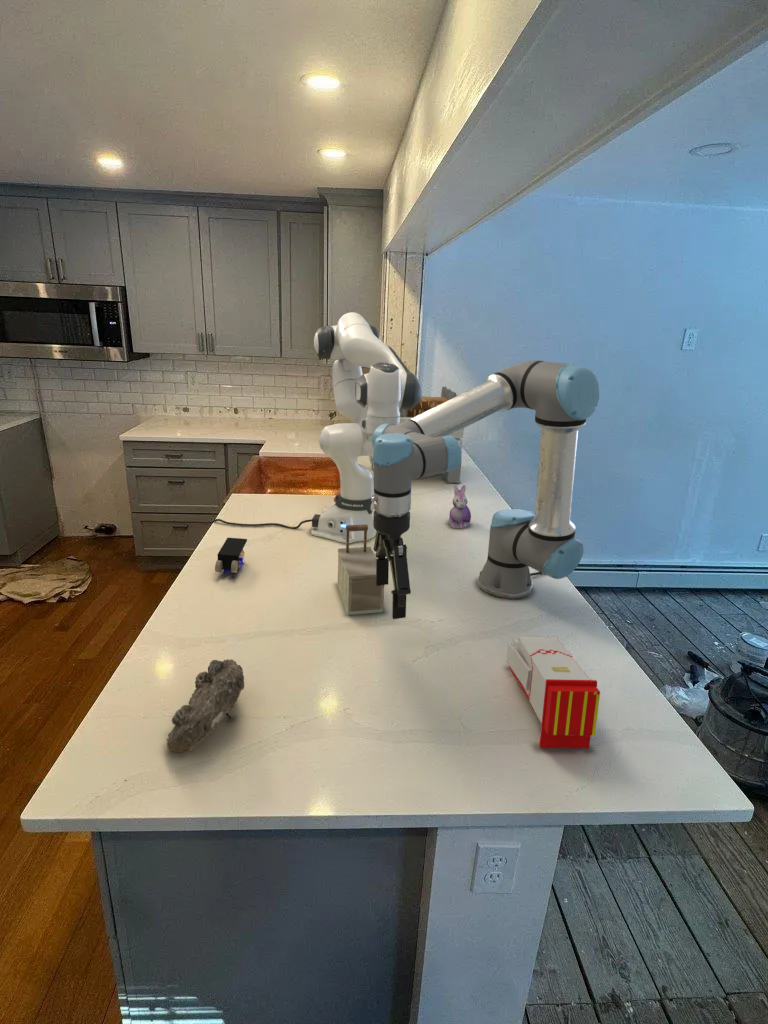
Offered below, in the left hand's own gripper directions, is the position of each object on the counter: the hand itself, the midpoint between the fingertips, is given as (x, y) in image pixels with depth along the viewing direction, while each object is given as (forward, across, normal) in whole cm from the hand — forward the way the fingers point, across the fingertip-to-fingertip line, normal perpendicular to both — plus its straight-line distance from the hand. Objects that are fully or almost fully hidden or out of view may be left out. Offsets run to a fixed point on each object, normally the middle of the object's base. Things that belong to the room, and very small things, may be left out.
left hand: (381, 475), depth 156 cm
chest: (+31, -9, +9) cm, 34 cm away
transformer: (+30, +98, -63) cm, 120 cm away
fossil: (+32, -44, +53) cm, 76 cm away
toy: (+32, -63, -11) cm, 71 cm away
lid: (+21, -9, +9) cm, 25 cm away
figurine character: (+31, +19, +39) cm, 53 cm away
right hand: (+17, -38, +14) cm, 44 cm away
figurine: (+31, +31, -46) cm, 63 cm away
